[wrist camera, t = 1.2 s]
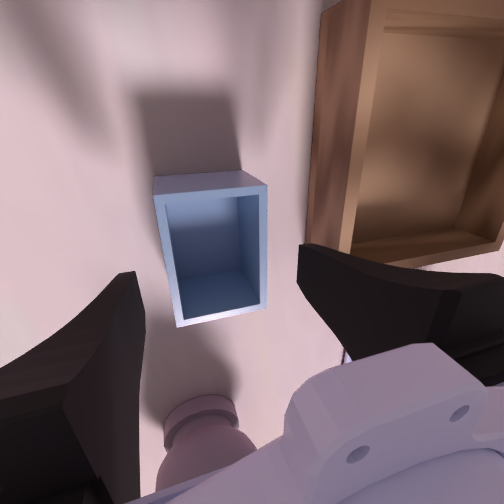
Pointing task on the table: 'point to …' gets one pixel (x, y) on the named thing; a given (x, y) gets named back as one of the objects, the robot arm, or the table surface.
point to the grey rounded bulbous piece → (201, 440)
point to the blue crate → (213, 243)
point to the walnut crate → (409, 131)
